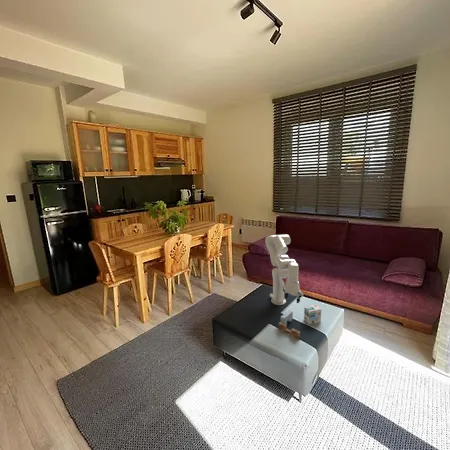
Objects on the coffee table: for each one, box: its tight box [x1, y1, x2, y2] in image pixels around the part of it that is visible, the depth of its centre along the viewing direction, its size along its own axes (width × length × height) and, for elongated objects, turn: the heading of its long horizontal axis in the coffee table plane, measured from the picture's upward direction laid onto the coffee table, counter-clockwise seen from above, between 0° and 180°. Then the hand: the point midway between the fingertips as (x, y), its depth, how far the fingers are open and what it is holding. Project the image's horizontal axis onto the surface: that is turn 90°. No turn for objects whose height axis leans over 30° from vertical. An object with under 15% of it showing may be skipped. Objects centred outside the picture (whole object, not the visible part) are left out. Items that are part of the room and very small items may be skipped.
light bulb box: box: [303, 304, 322, 325], centre depth 179 cm, size 11×7×11 cm, turn 105°
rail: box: [277, 321, 301, 341], centre depth 167 cm, size 16×2×5 cm, turn 44°
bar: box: [279, 309, 294, 326], centre depth 179 cm, size 3×12×7 cm, turn 134°
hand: (292, 300), depth 178 cm, fingers open, 9 cm apart
